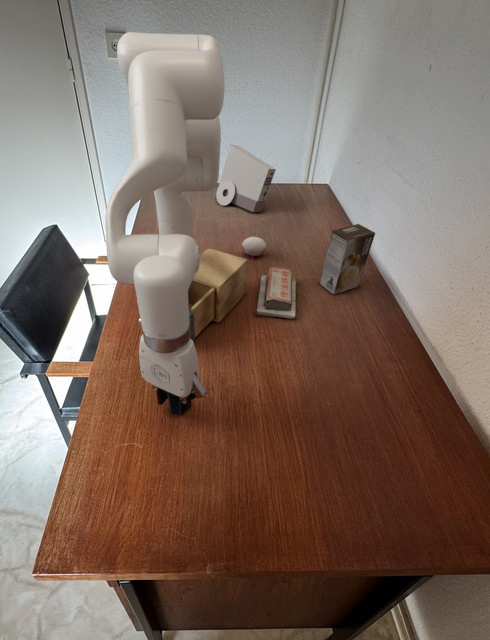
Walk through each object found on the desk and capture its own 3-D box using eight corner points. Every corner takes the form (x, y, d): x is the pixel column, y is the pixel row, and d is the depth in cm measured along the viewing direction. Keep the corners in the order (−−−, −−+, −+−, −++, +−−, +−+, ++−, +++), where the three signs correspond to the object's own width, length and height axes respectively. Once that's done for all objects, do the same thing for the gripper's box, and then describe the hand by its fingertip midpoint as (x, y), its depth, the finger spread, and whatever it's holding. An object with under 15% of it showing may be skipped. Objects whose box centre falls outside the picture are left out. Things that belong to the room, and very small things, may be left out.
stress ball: (263, 262, 121) (266, 240, 120) (264, 259, 113) (268, 236, 112) (240, 259, 121) (243, 238, 120) (240, 256, 113) (243, 233, 112)
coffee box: (343, 276, 109) (359, 222, 98) (358, 287, 105) (377, 232, 94) (318, 284, 106) (332, 229, 95) (333, 295, 102) (349, 240, 91)
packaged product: (262, 264, 104) (298, 267, 103) (260, 279, 108) (295, 282, 107) (257, 300, 92) (298, 304, 91) (255, 316, 95) (294, 320, 94)
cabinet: (218, 322, 93) (219, 286, 86) (180, 308, 97) (177, 273, 90) (244, 294, 102) (247, 259, 95) (208, 282, 106) (208, 248, 98)
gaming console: (210, 200, 148) (218, 142, 136) (223, 199, 152) (232, 143, 140) (252, 218, 136) (265, 157, 124) (265, 217, 141) (279, 157, 128)
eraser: (181, 413, 73) (179, 390, 68) (169, 414, 73) (166, 391, 68) (180, 405, 75) (178, 382, 70) (169, 406, 74) (166, 383, 70)
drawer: (180, 358, 83) (178, 327, 77) (143, 342, 86) (138, 312, 80) (220, 315, 94) (220, 285, 88) (185, 303, 97) (184, 273, 91)
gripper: (110, 329, 60) (128, 401, 73) (199, 366, 54) (201, 436, 68) (139, 305, 65) (151, 377, 78) (223, 337, 59) (221, 409, 72)
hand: (174, 404), depth 73 cm, fingers open, 4 cm apart
